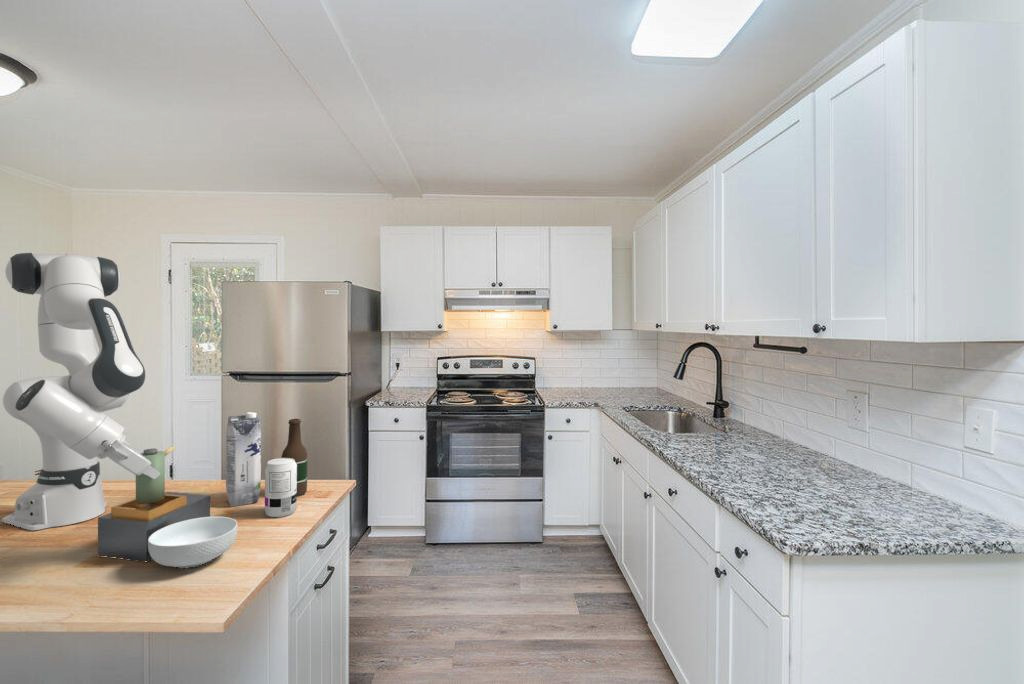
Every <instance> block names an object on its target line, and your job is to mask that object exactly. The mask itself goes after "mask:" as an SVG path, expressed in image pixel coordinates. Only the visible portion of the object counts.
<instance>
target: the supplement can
mask: <svg viewBox="0 0 1024 684" xmlns="http://www.w3.org/2000/svg"><path fill="white" fill-rule="evenodd" d="M297 500H298V499H297V464H296V462H295V460H294V459H292V458H281V457H278V458H274V459H270V460H268V461H267V464H266V465H265V467H264V514H265V515H266V516H267V515H268V516H267V517H269V516H270V517H269V518H273V517H277V518H283V517H288V516H290V515H292V514H293V512H295V511H296V510H297V508H298V507H297V506H298V505H297Z"/></svg>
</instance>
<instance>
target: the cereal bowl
mask: <svg viewBox="0 0 1024 684" xmlns="http://www.w3.org/2000/svg"><path fill="white" fill-rule="evenodd" d="M238 528H239V527H238V521H237V520H236V519H234V518H231V517H228V516H227V517H226V516H210V517H202V518H195V519H190V520H185V521H181V522H178V523H174V524H171V525H169V526H166V527H164V528H162V529H160V530H158V531H156V532H154V533H153V534H152V535H151V536H150V537H149V538H148V551H149V553H150V556H151V557H152V560H153V561H154V562H155V563H156V564H159V565H161V566H165V567H171V568H172V567H174V568H176V567H179V568H178V569H183V568H185V569H189V568H188V567H193V568H195V567H194V566H197V567H199V566H198V565H201V566H203V565H202V564H204V563H206V564H208V563H210V562H212V561H213V560H214V559H215V558H217V557H219V556H220V555H223V554H224V553H225V552H226V551H228V550H229V549H230V548H231V547H232V546H233V545H234V542H235V541H236V538H237V535H238V534H237V533H238ZM212 559H213V560H212ZM209 561H210V562H209ZM207 562H208V563H207ZM204 565H205V564H204ZM186 567H187V568H186Z"/></svg>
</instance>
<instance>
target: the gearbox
mask: <svg viewBox="0 0 1024 684" xmlns="http://www.w3.org/2000/svg"><path fill="white" fill-rule="evenodd" d="M202 517H211V495H209V494H197V493H186V492H175V491H165V498H164V499H163V500H161V501H158V502H154V503H149V504H137V503H136V498H133V499H130V500H128V501H125V502H122V503H119V504H117V505H114V506H112V507H110V513H106V514H103V515H101V516H97V556H98V555H99V556H107V557H116V558H123V559H130V560H129V561H132V560H138V561H137V562H140V561H148V560H150V561H152V560H153V559H152V557H151V556H150V553H149V551H148V538H149V537H150V536H151V535H152V534H153V533H154V532H156V531H158V530H160V529H162V528H164V527H166V526H169V525H171V524H174V523H178V522H181V521H185V520H190V519H195V518H202ZM123 559H122V560H123ZM151 559H152V560H151ZM148 562H149V561H148Z"/></svg>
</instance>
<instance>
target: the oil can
mask: <svg viewBox="0 0 1024 684" xmlns="http://www.w3.org/2000/svg"><path fill="white" fill-rule="evenodd" d="M174 450H175V446H170V447H168V448H167V449H165V450H164V451H163V450H162V451H161V450H158V448H147V449H144V450H143V452H141V453H140V452H139V453H140V454H142V455H143V456H144V457H145V458H147V459H148V460H149V461H150V462H151V465H150V466H152V467H153V468H154V469H156V470H157V471H159V472H160V475H159V476H158V477H157V478H156V479H153V478H151V477H149V476H147V475H145V474H143V473H142V474H141V475H139V476H137V475H135V499H136V503H137V504H149V503H154V502H158V501H161V500H163V499H164V498H165V492H166V488H165V484H166V483H165V482H166V477H165V476H166V475H165V472H166V471H165V469H166V467H165V466H166V465H165V464H166V462H165V459H166V456H168V455H169V454H170V453H171V452H173V451H174Z"/></svg>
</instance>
